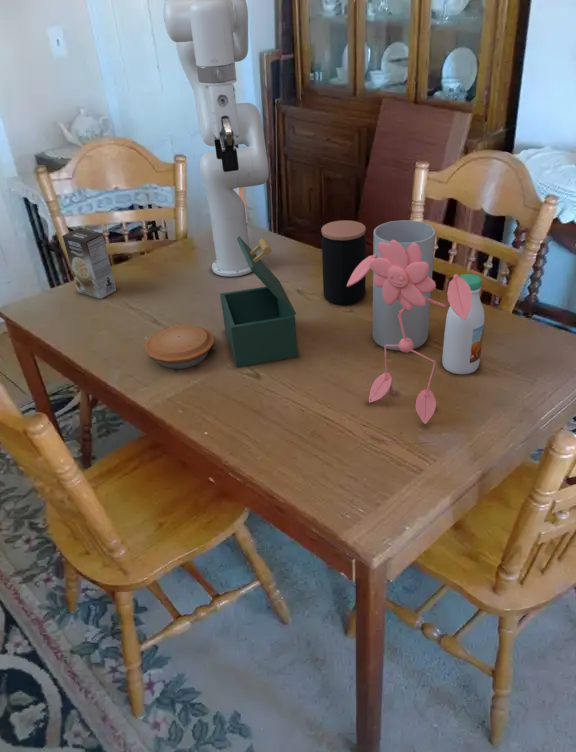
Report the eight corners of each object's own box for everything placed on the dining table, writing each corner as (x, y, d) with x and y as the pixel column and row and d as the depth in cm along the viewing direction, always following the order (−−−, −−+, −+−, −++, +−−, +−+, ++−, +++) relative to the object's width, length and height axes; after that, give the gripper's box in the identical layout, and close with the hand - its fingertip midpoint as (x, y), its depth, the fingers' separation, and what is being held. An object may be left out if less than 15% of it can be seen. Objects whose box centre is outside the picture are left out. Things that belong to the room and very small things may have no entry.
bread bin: (236, 367, 144) (231, 327, 138) (225, 331, 157) (219, 293, 151) (297, 356, 146) (295, 317, 140) (281, 322, 159) (278, 284, 153)
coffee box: (76, 292, 178) (60, 235, 168) (94, 283, 182) (79, 226, 172) (100, 299, 174) (85, 241, 164) (118, 290, 178) (103, 232, 168)
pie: (197, 379, 141) (194, 359, 138) (135, 369, 146) (130, 349, 142) (227, 343, 152) (225, 324, 149) (168, 335, 157) (164, 316, 154)
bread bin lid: (249, 268, 131) (269, 251, 130) (236, 238, 144) (254, 222, 143) (293, 316, 140) (312, 300, 139) (277, 283, 153) (294, 269, 152)
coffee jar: (365, 287, 171) (366, 219, 160) (364, 306, 163) (365, 236, 152) (325, 287, 173) (322, 220, 161) (322, 306, 164) (319, 237, 153)
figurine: (363, 377, 138) (364, 212, 117) (472, 423, 124) (495, 244, 102) (315, 411, 129) (306, 240, 108) (426, 465, 115) (441, 279, 94)
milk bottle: (457, 379, 136) (466, 290, 124) (434, 362, 141) (441, 275, 129) (486, 368, 138) (498, 280, 126) (463, 352, 144) (472, 266, 132)
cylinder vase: (365, 348, 147) (366, 240, 132) (380, 321, 157) (382, 218, 141) (421, 355, 144) (428, 245, 128) (432, 328, 153) (440, 222, 138)
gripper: (242, 79, 123) (252, 173, 134) (228, 65, 137) (238, 151, 147) (203, 84, 122) (215, 178, 133) (193, 69, 135) (205, 155, 146)
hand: (227, 164), depth 140 cm, fingers open, 9 cm apart
